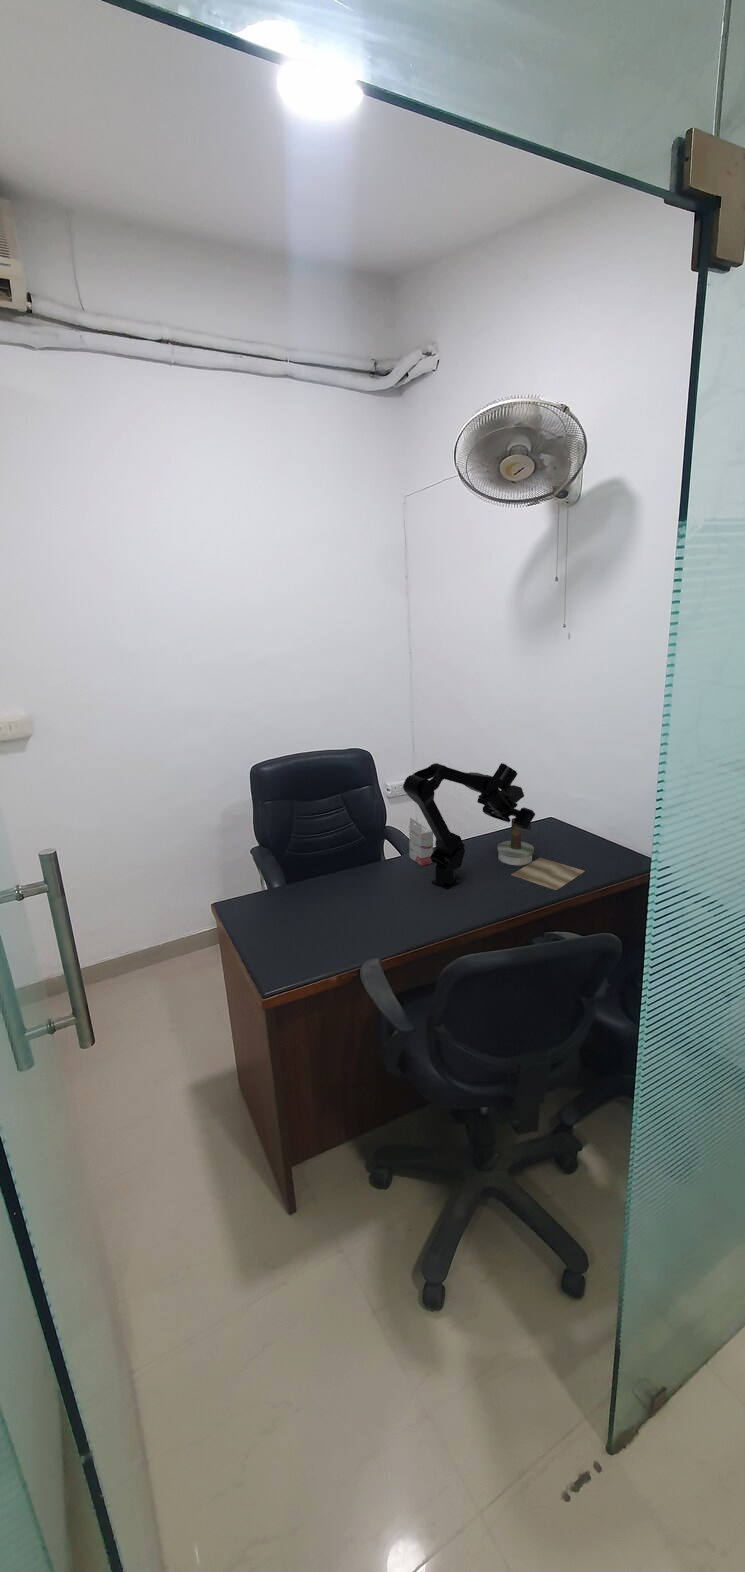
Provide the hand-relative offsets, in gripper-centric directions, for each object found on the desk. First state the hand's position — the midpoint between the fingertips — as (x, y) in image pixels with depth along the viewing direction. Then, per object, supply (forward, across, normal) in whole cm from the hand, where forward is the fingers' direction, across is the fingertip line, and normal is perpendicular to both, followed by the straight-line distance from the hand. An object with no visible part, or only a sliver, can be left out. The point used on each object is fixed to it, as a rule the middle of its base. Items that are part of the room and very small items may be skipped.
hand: (519, 825), depth 202 cm
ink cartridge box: (-11, +18, +28) cm, 35 cm away
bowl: (+8, 0, +9) cm, 12 cm away
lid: (+5, 0, +7) cm, 9 cm away
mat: (+7, -14, +10) cm, 19 cm away
